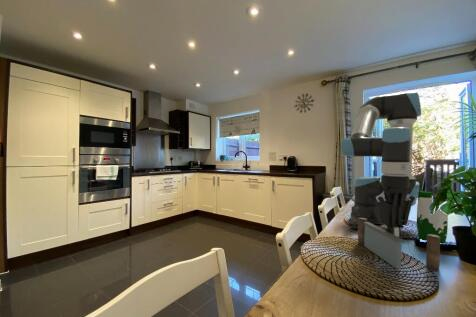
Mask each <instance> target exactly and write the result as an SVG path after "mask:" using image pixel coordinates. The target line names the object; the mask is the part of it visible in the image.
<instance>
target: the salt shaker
mask: <svg viewBox="0 0 476 317" xmlns="http://www.w3.org/2000/svg"><path fill="white" fill-rule="evenodd" d="M350 210H351V212H350V215H351V219H350V220H348V221H347V223H348V226H349V227H348V229H347V230H349V231H350V232H354V233H358V218H359V208H358V207H356V205H355V206H354V205H353V206H352V207H351V208H350Z"/></svg>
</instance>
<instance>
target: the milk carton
mask: <svg viewBox="0 0 476 317" xmlns="http://www.w3.org/2000/svg"><path fill="white" fill-rule="evenodd" d="M433 196H434V195H433V193H432V192H431V191H427V190H419V191H418V197H417V203H416V204H417V205H416V230H417V236H418V240H419V239H422V240H427V234H432V235H437V236H439V237H440V243H445V244H446V242H447V236H448V225H449V223H448V222H449V221H448V220H449V214H448V215H446V214H444V213H443V212H442V211H440V209H439V210H438V211H437V212H435V213H434V214H432V215H430V212H429V205H430V204H431V203H432V200H433Z"/></svg>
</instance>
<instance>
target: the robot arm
mask: <svg viewBox="0 0 476 317" xmlns="http://www.w3.org/2000/svg"><path fill="white" fill-rule="evenodd" d="M420 100H421V99H420V96H419V92H417V91H408V92H407V91H404V92H398V93H392V94H384V95H379V96H375V97H373V98H371V99H369V100H367V101H365V102H364V103H363V104H362V105H361V106H360V107H359V109H358V111H357V113H356V114H357V115H356V118H357V119H356V122H355V124H354V127H353V130H352V131H351V132H352V133H351V135H350V137H345V138H343V139H342V140H341V144H340V151H341V155H343V156H345V157H352V158H353V157H381V166H380V167H381V168H380V172H381V174H382V175H381V176H362V177H357V178H356V179H355V180H354V200H353V201H354V205H353V206H355V205H356V207H358V208H359V218H365V219H367V222H370V223H372V224H381V225H385V226H386V231H388V232H389V233H391V234H393V235H395V236H397V237H399V238H401V231H402V230H401V229H404V228H405V226H407V224H408V220H409V216H410V213H411V209H412V207H413V206H415V205H416V204H417V202H418V195H419V191H420V182H419V181H416V180H417V179H416V177H415V176H414V175H413V173H412V172H413V171H412V169H413V168H412V167H413V136H414V135H413V132H414V131H413V129H414V126H413V125H414V123H416V122H417V121H418V117H420V116H422V107H421V101H420ZM385 119H386V123H387V124H388V125H389V126H390V127H389V128H384V129H383V130H382V136H372V135H373V132H374V128H375V125H376V122H377V120H385ZM350 218H351V214H350ZM350 218H349V219H350Z"/></svg>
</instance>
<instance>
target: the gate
mask: <svg viewBox="0 0 476 317" xmlns="http://www.w3.org/2000/svg"><path fill="white" fill-rule="evenodd" d="M364 225H365V238H364V246H363V247H366V248H367V249H368V250H369V251H371V252H372V253H373V254H375V255H377V256H379V258H381V259H382V260H384V261H385V262H387V264H389V265H391V266H392V267H393V268H395V269H397V270H401V268H402V244H403V243H404V239H403V238H401V237H397V236H395V235H393V234H391V233H389V232H388V231H387V229H386V230H385V229H383V228H381V227H379V225H374V224H372V223H370V222H364Z"/></svg>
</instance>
